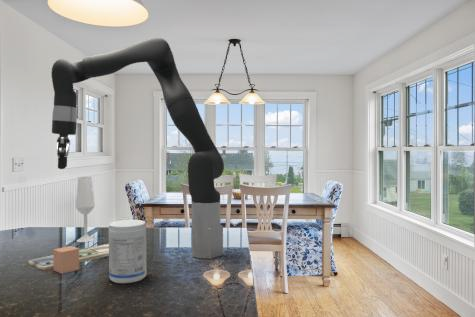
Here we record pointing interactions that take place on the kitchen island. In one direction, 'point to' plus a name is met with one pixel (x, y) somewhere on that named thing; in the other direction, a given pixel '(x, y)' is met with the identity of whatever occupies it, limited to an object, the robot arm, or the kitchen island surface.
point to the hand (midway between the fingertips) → (62, 167)
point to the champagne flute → (85, 203)
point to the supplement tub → (127, 251)
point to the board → (84, 255)
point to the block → (66, 259)
